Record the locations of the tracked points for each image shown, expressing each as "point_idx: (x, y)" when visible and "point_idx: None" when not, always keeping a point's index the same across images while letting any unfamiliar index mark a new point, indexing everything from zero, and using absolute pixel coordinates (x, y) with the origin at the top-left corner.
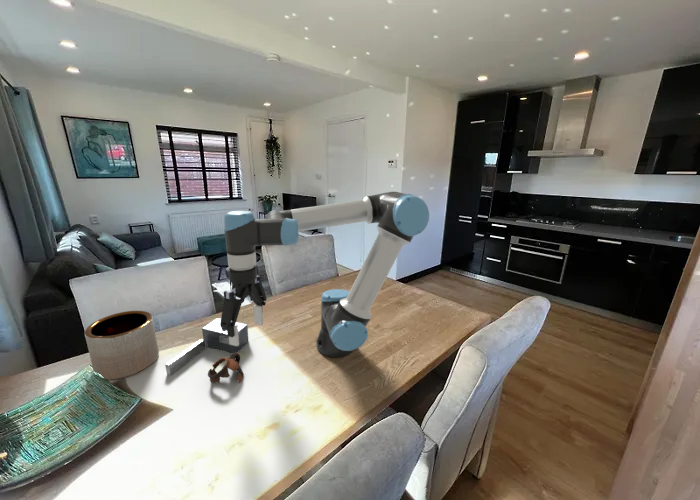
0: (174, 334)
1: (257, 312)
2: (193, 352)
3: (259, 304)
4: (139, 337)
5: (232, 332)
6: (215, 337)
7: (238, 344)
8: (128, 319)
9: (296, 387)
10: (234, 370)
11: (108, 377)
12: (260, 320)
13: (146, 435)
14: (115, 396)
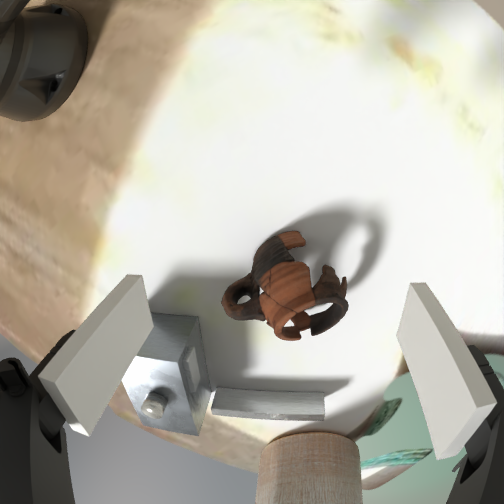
0: (210, 445)
1: (101, 367)
2: (252, 401)
3: (44, 406)
4: (320, 495)
5: (484, 373)
6: (196, 394)
7: (418, 286)
8: None
9: (248, 47)
10: (303, 265)
11: (358, 450)
12: (126, 303)
13: (468, 315)
14: (388, 417)
